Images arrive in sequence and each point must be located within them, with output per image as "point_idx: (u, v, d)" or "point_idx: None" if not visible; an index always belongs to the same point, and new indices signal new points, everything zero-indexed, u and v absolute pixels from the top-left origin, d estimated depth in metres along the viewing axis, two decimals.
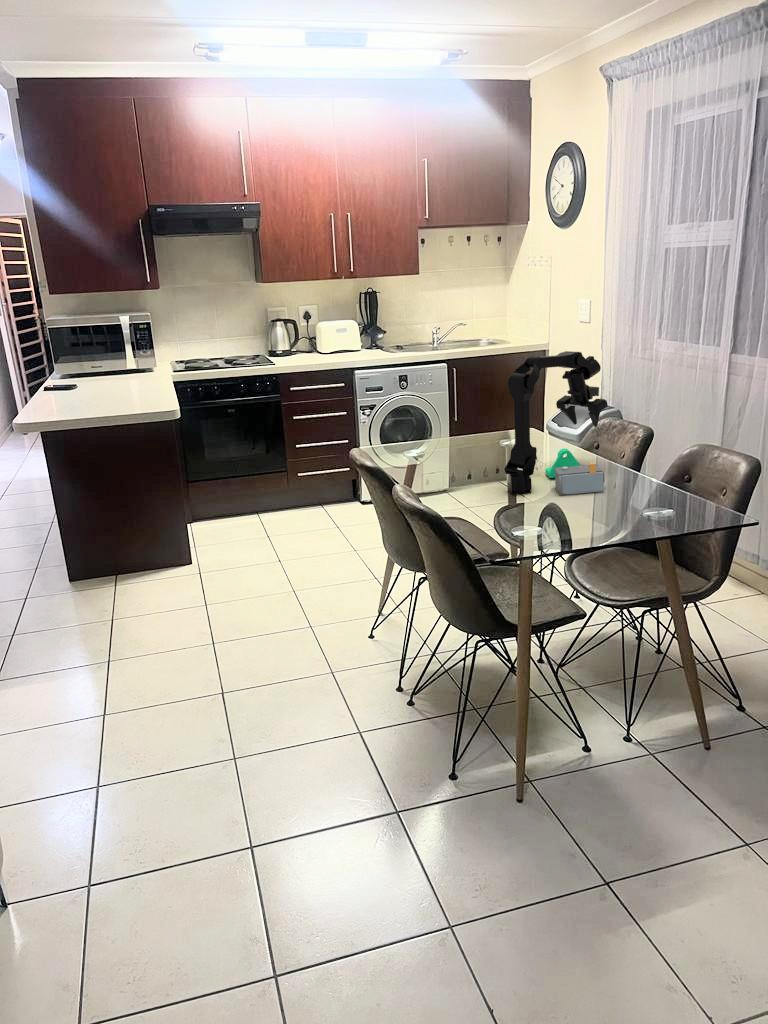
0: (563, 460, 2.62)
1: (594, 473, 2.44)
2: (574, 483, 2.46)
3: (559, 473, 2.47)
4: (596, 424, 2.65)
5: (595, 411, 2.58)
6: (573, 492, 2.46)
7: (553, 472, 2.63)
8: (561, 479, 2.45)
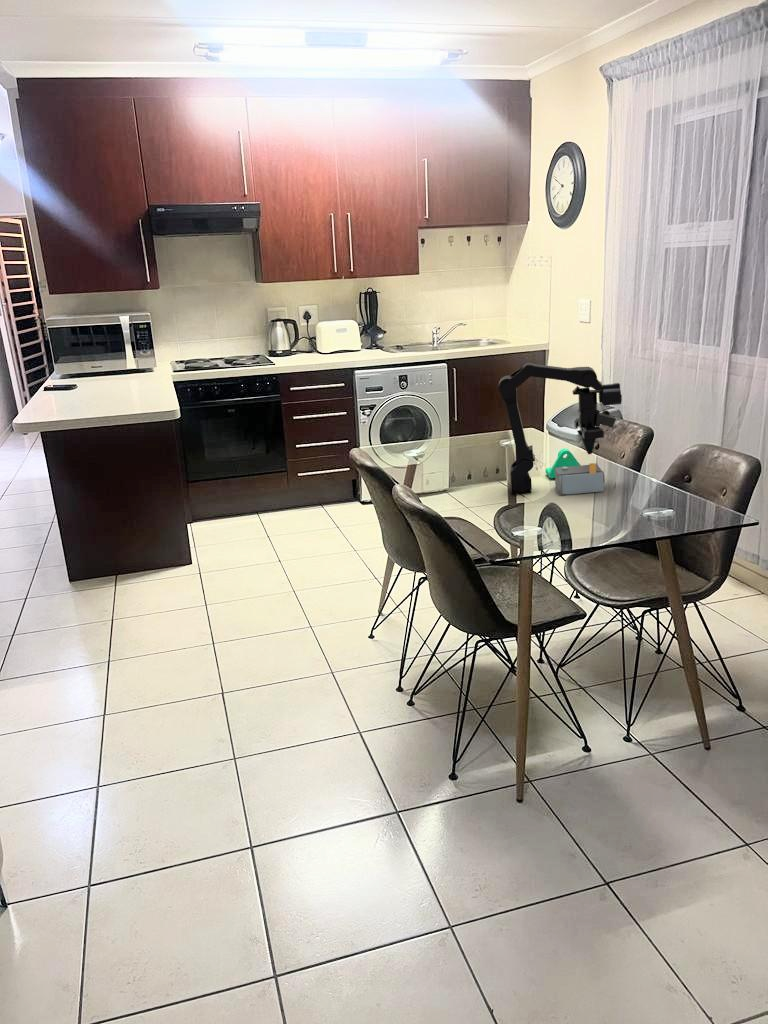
0: (563, 460, 2.61)
1: (594, 473, 2.44)
2: (574, 483, 2.46)
3: (559, 473, 2.47)
4: (589, 451, 2.46)
5: (584, 436, 2.37)
6: (573, 492, 2.46)
7: (553, 472, 2.63)
8: (561, 479, 2.45)
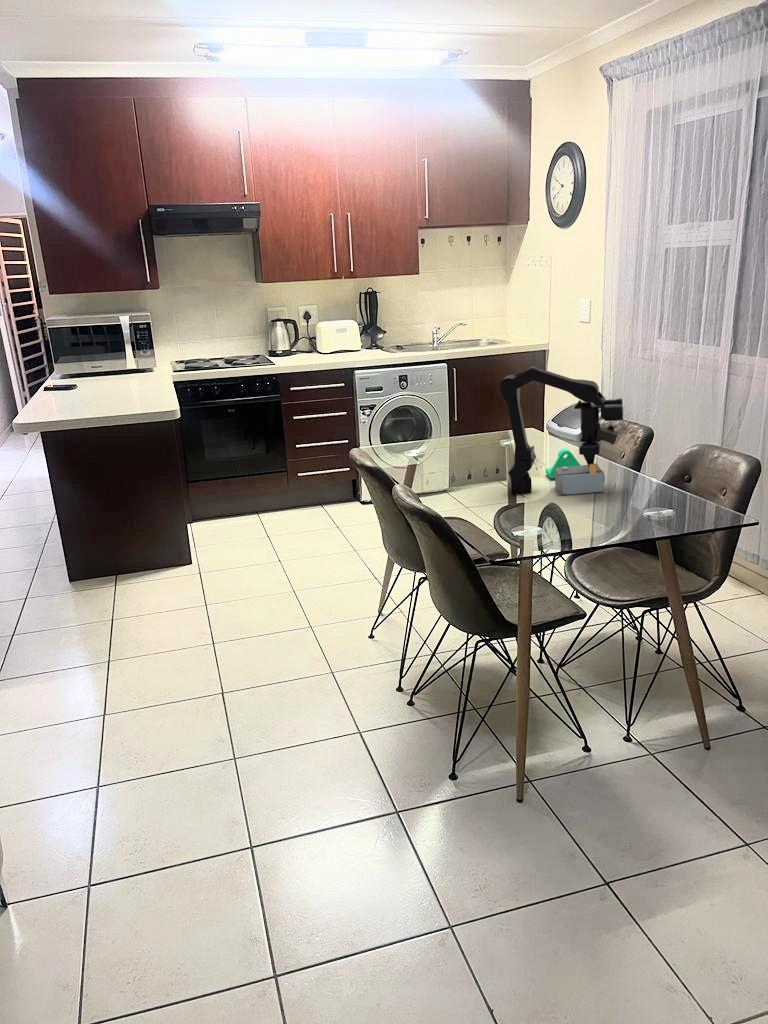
0: (563, 460, 2.61)
1: (594, 473, 2.44)
2: (574, 483, 2.45)
3: (559, 473, 2.47)
4: None
5: (579, 452, 2.36)
6: (573, 492, 2.46)
7: (553, 472, 2.63)
8: (561, 479, 2.45)
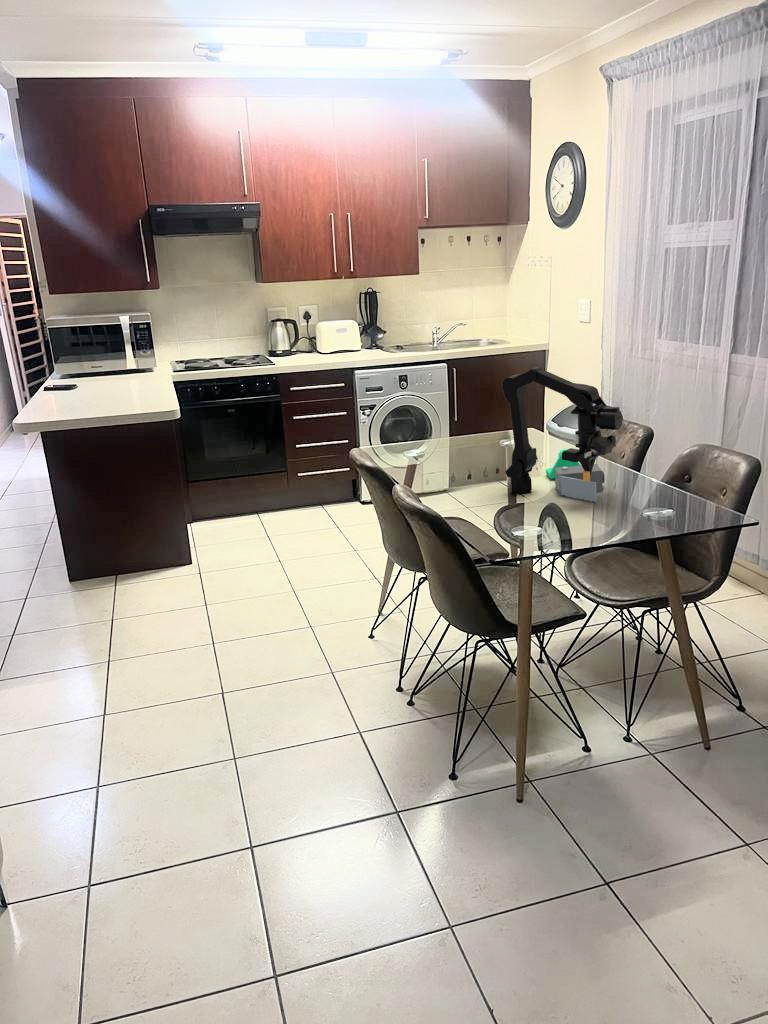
0: (564, 461, 2.61)
1: (587, 481, 2.37)
2: (570, 487, 2.43)
3: (559, 473, 2.47)
4: None
5: None
6: (570, 495, 2.44)
7: (554, 473, 2.62)
8: (560, 479, 2.45)
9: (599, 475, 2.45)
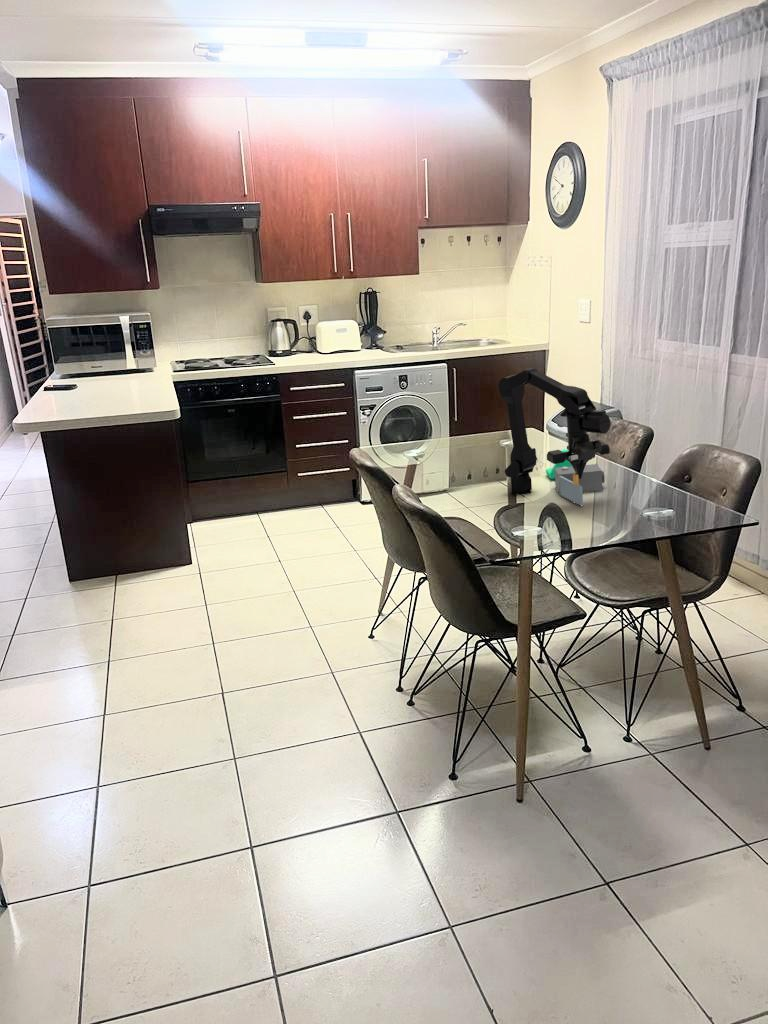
0: (564, 461, 2.61)
1: (575, 484, 2.35)
2: (565, 488, 2.42)
3: (559, 473, 2.47)
4: None
5: None
6: (565, 496, 2.43)
7: (554, 473, 2.62)
8: (559, 479, 2.45)
9: (599, 475, 2.45)
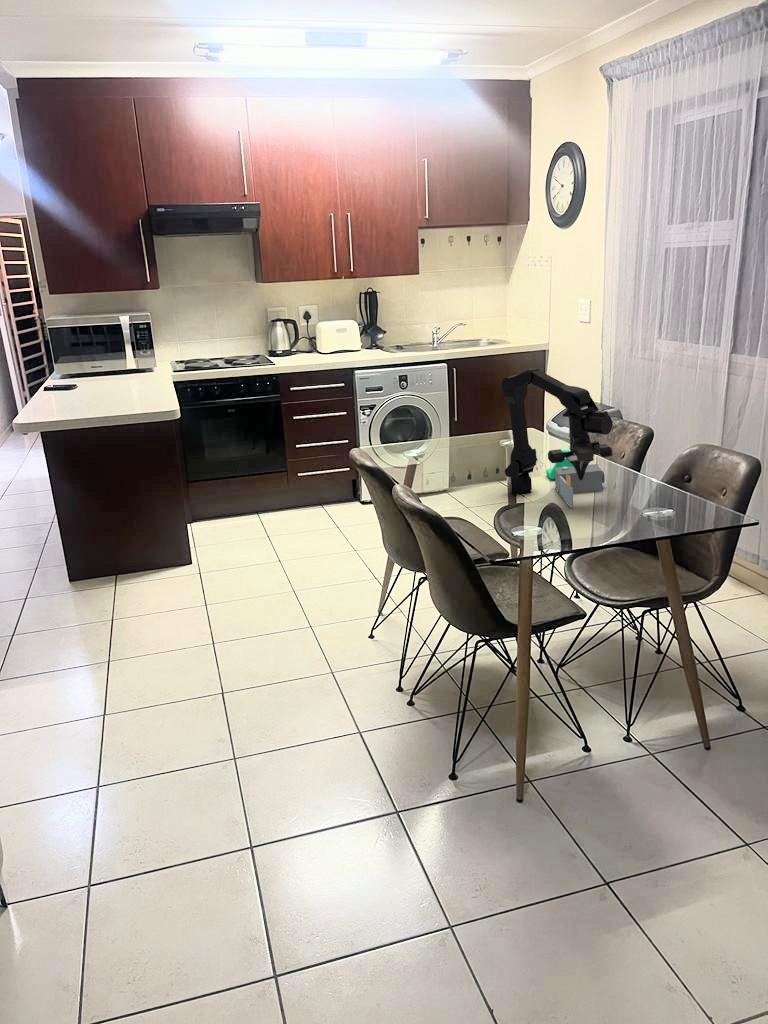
0: (564, 461, 2.61)
1: (567, 486, 2.35)
2: (562, 488, 2.42)
3: (559, 473, 2.47)
4: (578, 476, 2.34)
5: None
6: (562, 496, 2.43)
7: (554, 473, 2.62)
8: (559, 479, 2.45)
9: (599, 475, 2.45)
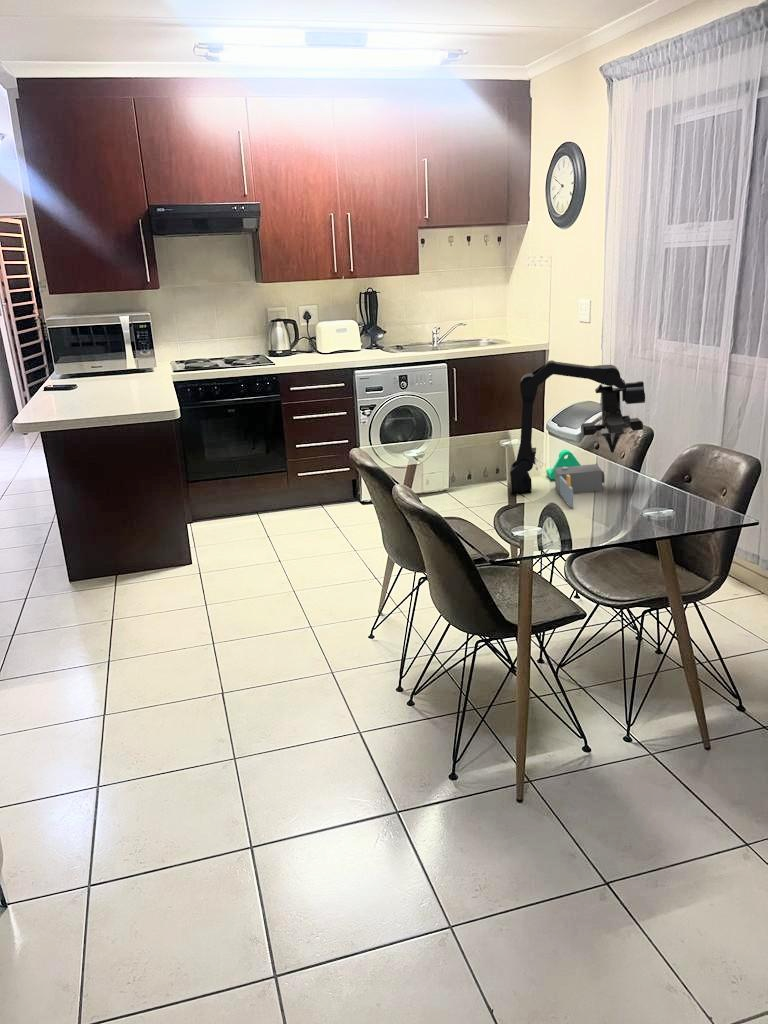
0: (564, 461, 2.60)
1: (567, 486, 2.35)
2: (562, 488, 2.42)
3: (559, 473, 2.47)
4: None
5: None
6: (562, 496, 2.43)
7: (554, 473, 2.62)
8: (559, 479, 2.45)
9: (599, 475, 2.45)
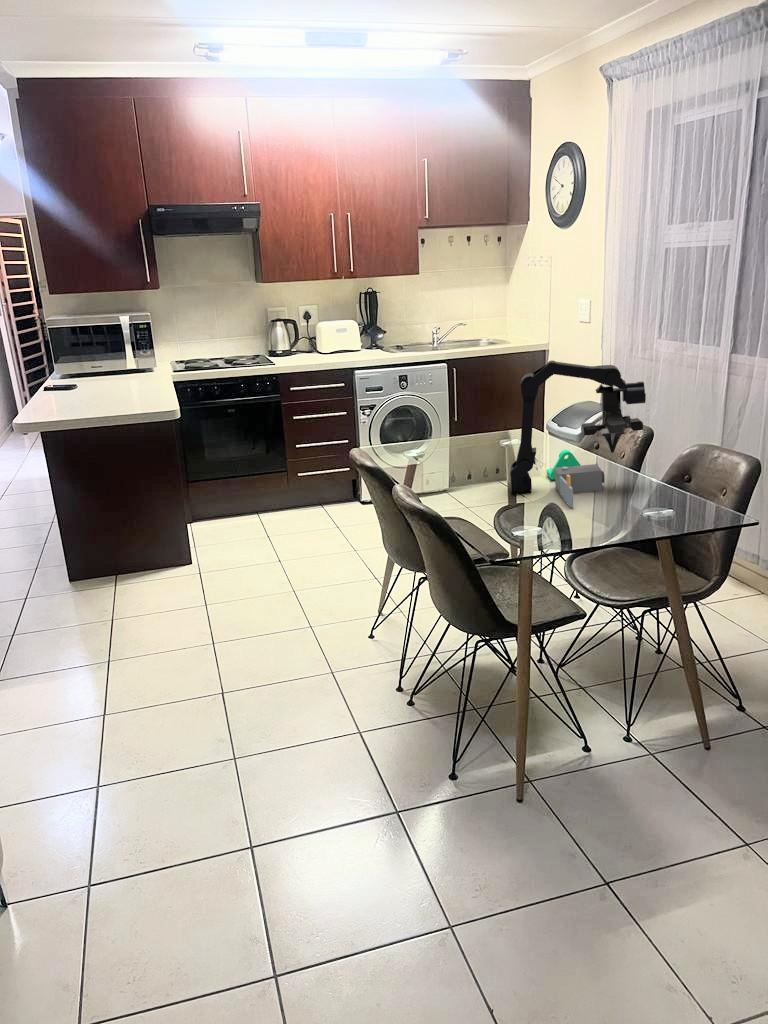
0: (564, 461, 2.60)
1: (567, 486, 2.35)
2: (562, 488, 2.42)
3: (559, 473, 2.47)
4: None
5: None
6: (562, 496, 2.43)
7: (554, 473, 2.61)
8: (559, 479, 2.45)
9: (599, 475, 2.45)
